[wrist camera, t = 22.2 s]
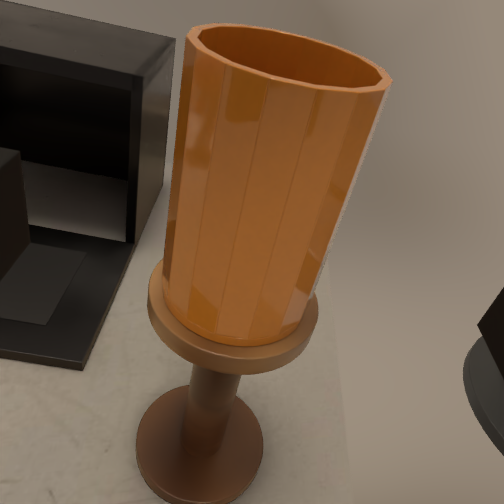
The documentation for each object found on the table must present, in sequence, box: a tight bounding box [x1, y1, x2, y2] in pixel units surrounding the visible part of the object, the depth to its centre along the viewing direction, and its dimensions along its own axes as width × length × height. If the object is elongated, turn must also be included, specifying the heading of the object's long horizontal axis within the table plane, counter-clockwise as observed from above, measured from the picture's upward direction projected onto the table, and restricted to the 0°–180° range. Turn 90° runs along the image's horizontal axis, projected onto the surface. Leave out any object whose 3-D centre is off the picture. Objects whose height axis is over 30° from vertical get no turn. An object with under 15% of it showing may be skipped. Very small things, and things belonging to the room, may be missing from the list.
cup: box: [162, 23, 393, 347], centre depth 20 cm, size 8×8×12 cm
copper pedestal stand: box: [136, 258, 318, 504], centre depth 28 cm, size 9×9×15 cm
